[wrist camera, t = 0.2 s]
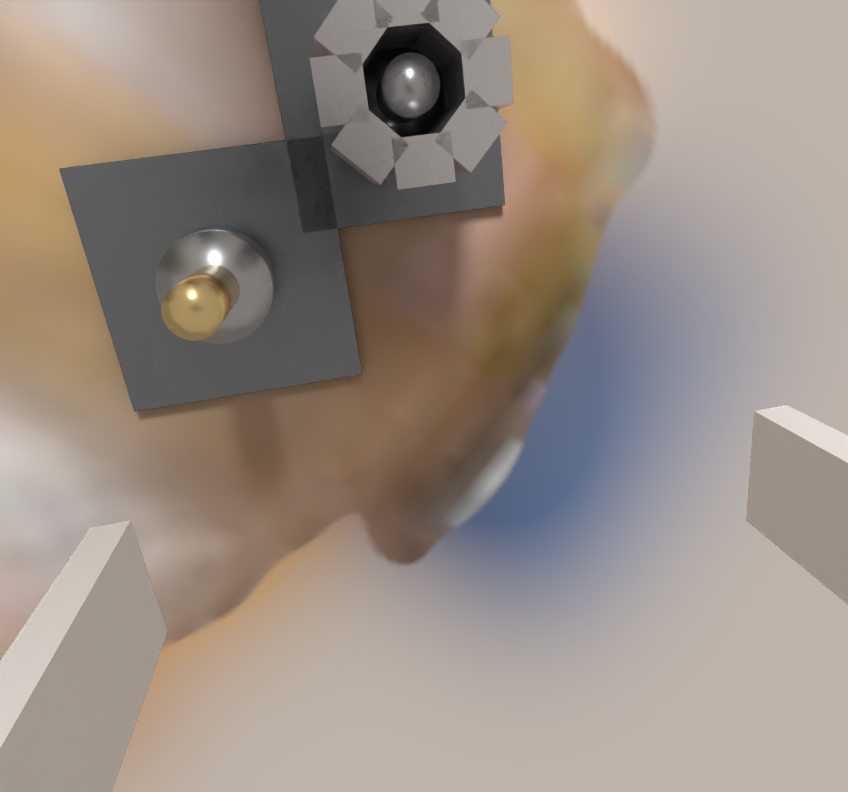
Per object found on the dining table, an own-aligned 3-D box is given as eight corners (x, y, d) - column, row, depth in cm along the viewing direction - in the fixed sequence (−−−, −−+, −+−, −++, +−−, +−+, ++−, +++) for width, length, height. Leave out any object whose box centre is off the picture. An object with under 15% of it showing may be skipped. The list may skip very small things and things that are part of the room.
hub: (63, 168, 33) (-33, 166, 25) (322, 136, 35) (320, 122, 26) (137, 407, 38) (79, 478, 29) (361, 371, 40) (371, 428, 31)
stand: (259, -5, 32) (233, -74, 23) (484, -28, 33) (542, -103, 24) (303, 232, 36) (295, 250, 27) (502, 204, 37) (556, 213, 29)
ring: (301, 8, 28) (295, -25, 23) (475, -10, 29) (503, -46, 24) (332, 194, 31) (333, 198, 26) (489, 173, 31) (518, 173, 27)
